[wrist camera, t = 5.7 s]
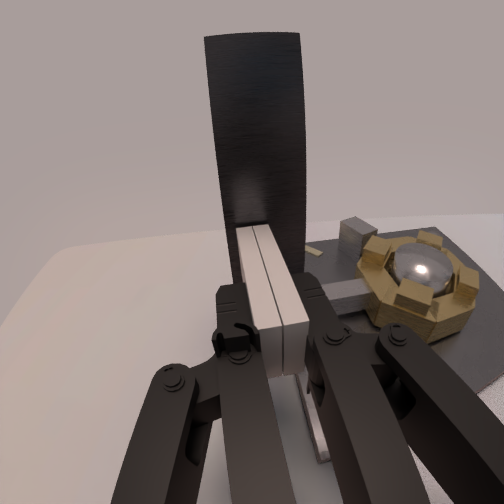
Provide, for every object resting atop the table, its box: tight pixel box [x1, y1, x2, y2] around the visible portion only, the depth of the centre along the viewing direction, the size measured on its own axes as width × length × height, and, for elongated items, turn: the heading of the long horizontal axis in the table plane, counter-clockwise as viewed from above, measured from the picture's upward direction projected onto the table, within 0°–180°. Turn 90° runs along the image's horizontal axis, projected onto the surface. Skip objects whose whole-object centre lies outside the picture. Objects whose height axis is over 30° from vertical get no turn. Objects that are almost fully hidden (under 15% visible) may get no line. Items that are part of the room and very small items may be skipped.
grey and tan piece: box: [204, 32, 479, 344], centre depth 14 cm, size 19×10×17 cm, turn 96°
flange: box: [295, 217, 504, 463], centre depth 19 cm, size 22×22×4 cm
